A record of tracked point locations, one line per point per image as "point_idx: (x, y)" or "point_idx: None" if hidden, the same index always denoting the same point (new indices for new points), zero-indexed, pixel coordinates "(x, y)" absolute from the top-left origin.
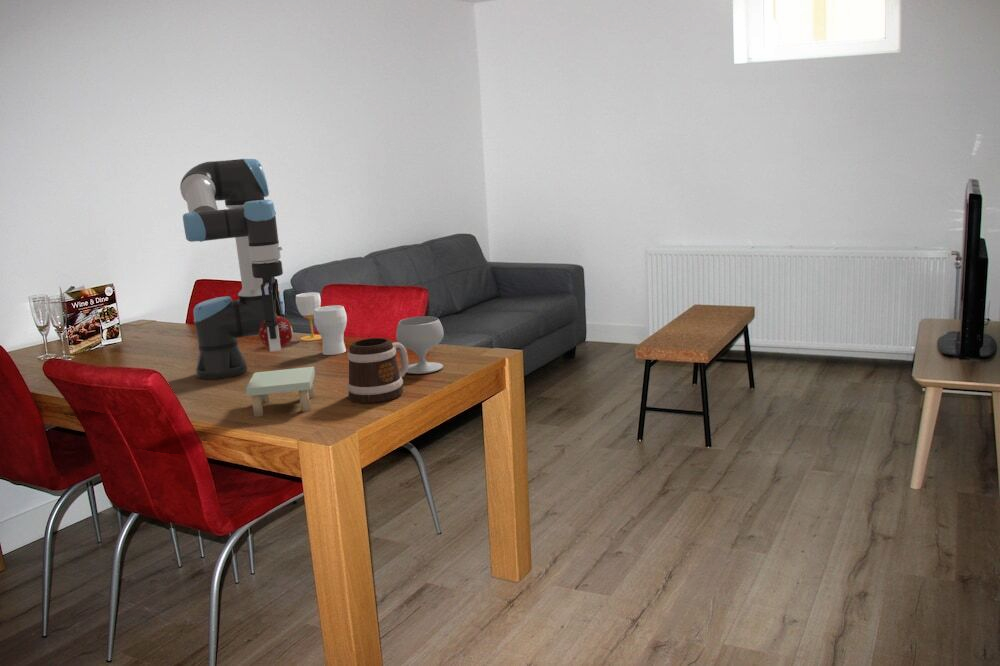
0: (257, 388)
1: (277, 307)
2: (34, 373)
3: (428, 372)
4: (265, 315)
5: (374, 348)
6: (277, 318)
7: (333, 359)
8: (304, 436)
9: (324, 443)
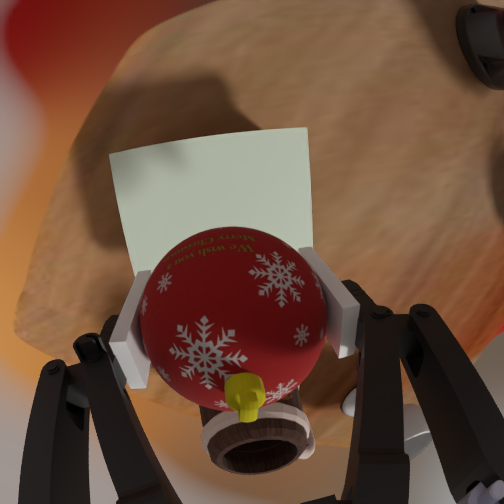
0: (115, 188)
1: (356, 406)
2: None
3: (343, 409)
4: (36, 411)
5: (214, 463)
6: (206, 401)
7: (494, 241)
8: (33, 296)
9: (16, 328)
